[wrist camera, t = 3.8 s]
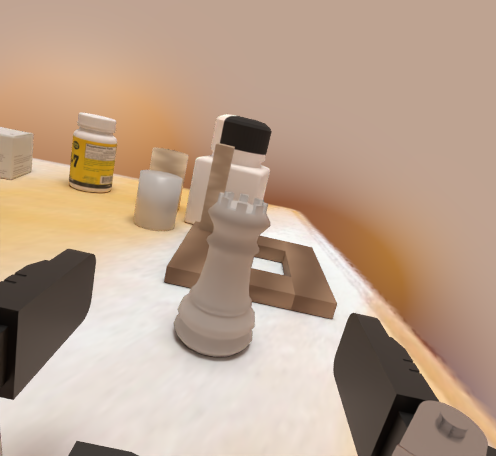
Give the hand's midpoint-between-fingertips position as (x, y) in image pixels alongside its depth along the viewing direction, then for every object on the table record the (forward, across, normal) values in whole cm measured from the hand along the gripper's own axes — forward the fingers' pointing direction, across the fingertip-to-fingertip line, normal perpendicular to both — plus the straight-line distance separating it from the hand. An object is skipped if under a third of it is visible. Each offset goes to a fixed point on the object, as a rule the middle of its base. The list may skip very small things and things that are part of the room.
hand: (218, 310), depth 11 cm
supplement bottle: (+33, +18, +6) cm, 38 cm away
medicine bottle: (+30, +2, +6) cm, 31 cm away
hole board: (+19, -2, +6) cm, 20 cm away
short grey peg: (+25, +8, +6) cm, 27 cm away
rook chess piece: (+8, 0, +6) cm, 10 cm away
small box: (+31, +28, +6) cm, 42 cm away
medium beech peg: (+32, +9, +6) cm, 34 cm away
